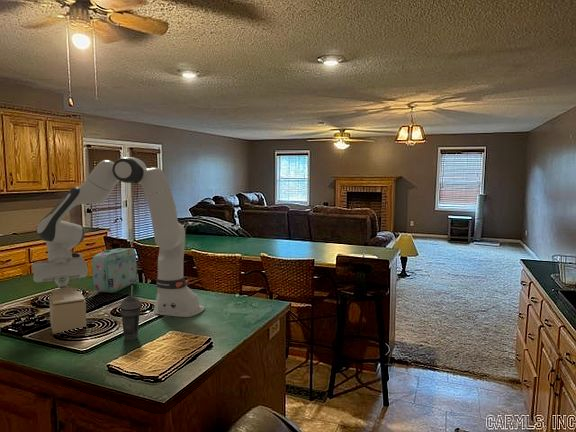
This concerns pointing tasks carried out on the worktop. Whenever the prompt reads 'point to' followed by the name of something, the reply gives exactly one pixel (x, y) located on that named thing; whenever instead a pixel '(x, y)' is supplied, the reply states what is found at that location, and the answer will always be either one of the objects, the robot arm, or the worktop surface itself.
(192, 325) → the worktop surface
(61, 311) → the mailer box
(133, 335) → the beverage cup
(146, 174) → the robot arm
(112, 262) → the lunch box
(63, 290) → the lid
